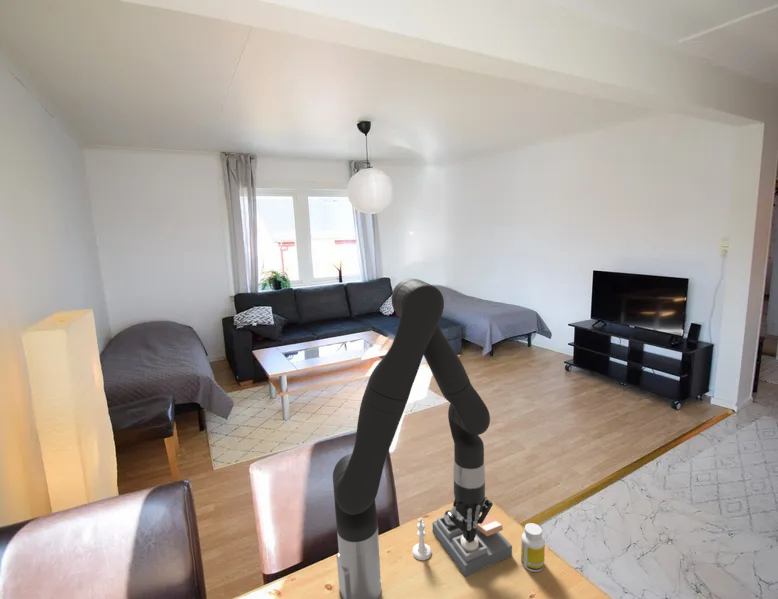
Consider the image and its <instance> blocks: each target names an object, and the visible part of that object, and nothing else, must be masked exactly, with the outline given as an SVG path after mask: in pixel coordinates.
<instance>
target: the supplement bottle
mask: <svg viewBox="0 0 778 599" xmlns="http://www.w3.org/2000/svg"><path fill="white" fill-rule="evenodd" d="M520 545H521V546H520V552H521V553H520V558H521V559H520V563H521V564H522V566H523V567H524V569H526V570H528V571H530V572H533V573H538V572H541V571H542V570H543V569H544V567H545V552H546V551H545V550H546V549H545V548H546V547H545V546H546V544H545V538H544V536H543V529H542V527H541V526H540V525H538V524H536V523H533V522H529V523H526V524H525V526H524V532H523V533H522V534H521V543H520Z"/></svg>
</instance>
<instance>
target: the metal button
mask: <svg viewBox="0 0 778 599" xmlns="http://www.w3.org/2000/svg"><path fill="white" fill-rule="evenodd" d="M448 510H449V511H451V509H448ZM457 515H458V516H457V517H458V519H459V520H460V521H461V516H460V514H459V512H458V511H457ZM443 516H444V523H445V525H446V526H447V527H449V528H457V526H456V525H455V524H454V523H453V522H452V521H451V520H450V519H449V518H448V517H447V515H446V514H445V513H444V514H443Z"/></svg>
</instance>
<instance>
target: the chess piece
mask: <svg viewBox="0 0 778 599" xmlns="http://www.w3.org/2000/svg"><path fill="white" fill-rule="evenodd" d="M416 524H417V525H416V527H417V529H418V531H417V532H416V533H417V534H416V535H417V536H418V537H419V540H418V543H416V544H414V546H413V547H412V556H413V557H414V558H415V559H417V560H419V561H425V560H427V559H429V558H430V557H431V556H432V549H431V547H430V545H429V544H427V543H425V539H424V537H425V536H426V531H425V528H426V525H425V521H423V518H422V517H419V518H418V519H417V523H416Z"/></svg>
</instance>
